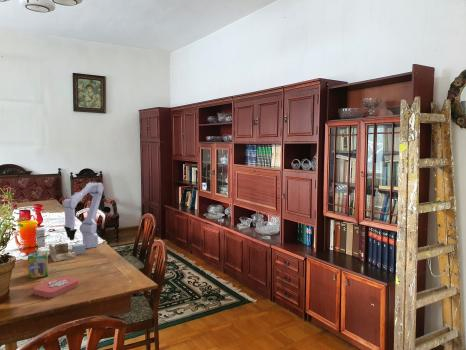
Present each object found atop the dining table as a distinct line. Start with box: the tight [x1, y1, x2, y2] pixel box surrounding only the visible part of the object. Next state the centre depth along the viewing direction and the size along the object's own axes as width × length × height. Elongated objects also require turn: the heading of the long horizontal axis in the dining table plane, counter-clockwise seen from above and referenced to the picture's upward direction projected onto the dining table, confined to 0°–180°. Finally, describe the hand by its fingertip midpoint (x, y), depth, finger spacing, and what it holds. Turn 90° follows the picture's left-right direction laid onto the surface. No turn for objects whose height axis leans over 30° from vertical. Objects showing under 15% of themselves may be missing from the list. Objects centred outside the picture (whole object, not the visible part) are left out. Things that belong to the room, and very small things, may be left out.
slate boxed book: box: [71, 243, 86, 256], centre depth 237 cm, size 7×4×6 cm, turn 126°
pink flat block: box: [33, 276, 80, 299], centre depth 180 cm, size 18×4×15 cm
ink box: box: [36, 227, 46, 248], centre depth 252 cm, size 8×5×12 cm, turn 124°
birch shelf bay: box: [48, 242, 77, 263], centre depth 230 cm, size 12×16×7 cm
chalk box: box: [27, 247, 49, 279], centre depth 198 cm, size 9×9×15 cm
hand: (70, 238), depth 236 cm, fingers open, 7 cm apart
